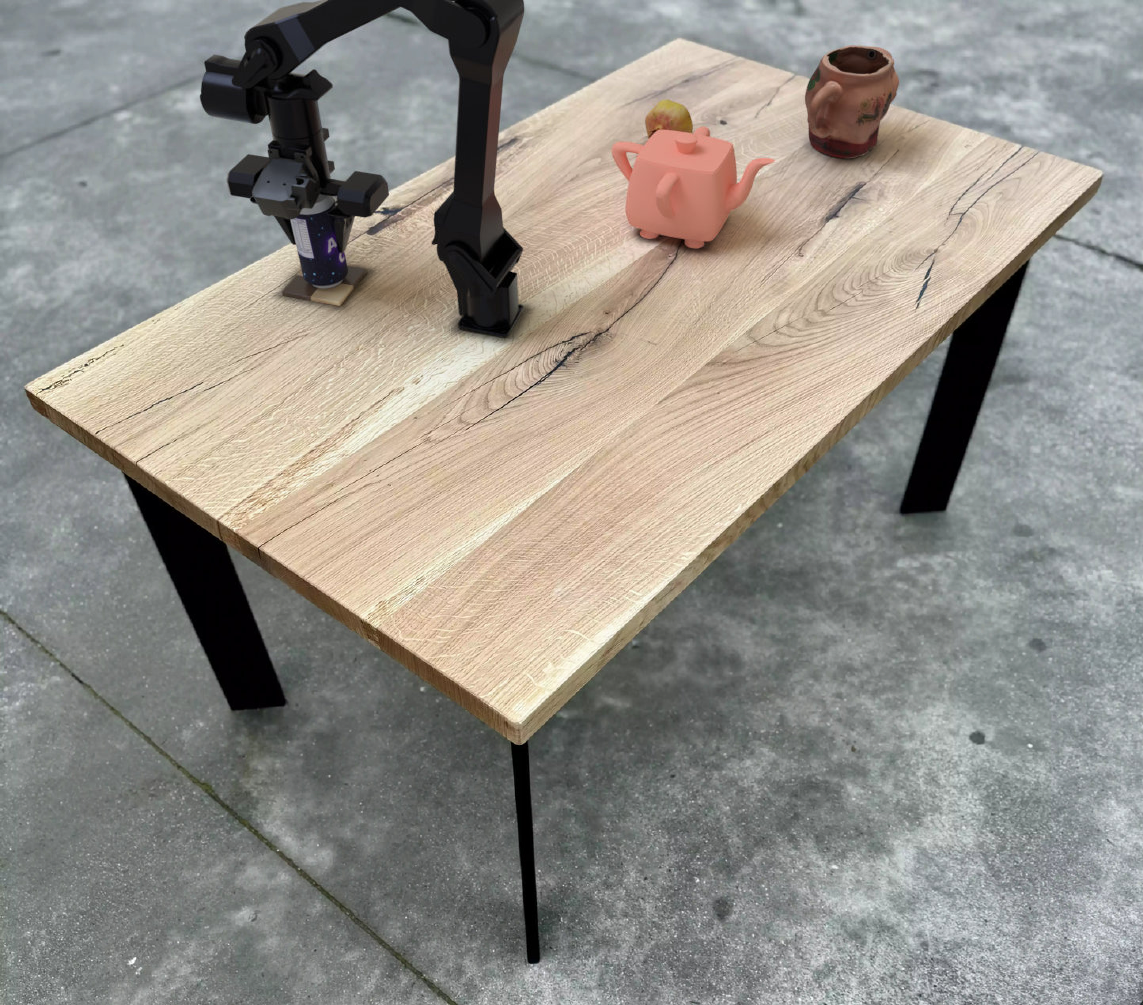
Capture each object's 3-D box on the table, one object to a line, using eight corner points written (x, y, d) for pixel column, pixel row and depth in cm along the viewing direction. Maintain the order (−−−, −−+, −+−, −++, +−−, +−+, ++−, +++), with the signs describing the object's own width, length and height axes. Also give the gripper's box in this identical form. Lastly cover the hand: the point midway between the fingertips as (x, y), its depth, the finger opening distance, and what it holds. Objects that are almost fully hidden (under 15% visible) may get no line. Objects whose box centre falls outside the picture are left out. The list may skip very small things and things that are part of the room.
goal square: (367, 272, 142) (366, 268, 141) (339, 306, 136) (339, 302, 136) (311, 262, 143) (310, 258, 143) (282, 295, 138) (281, 291, 138)
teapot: (603, 212, 152) (605, 123, 143) (701, 188, 157) (709, 100, 148) (661, 273, 142) (667, 180, 132) (764, 245, 147) (777, 153, 137)
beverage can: (340, 294, 137) (323, 208, 129) (297, 289, 138) (278, 204, 129) (355, 269, 141) (339, 184, 132) (314, 265, 142) (295, 180, 133)
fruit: (659, 89, 167) (630, 113, 161) (700, 87, 164) (672, 112, 158) (666, 133, 171) (637, 159, 165) (706, 132, 168) (679, 158, 162)
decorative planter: (844, 188, 157) (862, 94, 148) (769, 163, 162) (782, 71, 153) (903, 136, 169) (923, 46, 159) (831, 115, 174) (847, 26, 164)
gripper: (187, 149, 122) (219, 269, 133) (339, 173, 118) (359, 295, 129) (237, 106, 129) (264, 223, 140) (382, 127, 125) (398, 246, 136)
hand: (319, 247), depth 136 cm, fingers open, 6 cm apart
